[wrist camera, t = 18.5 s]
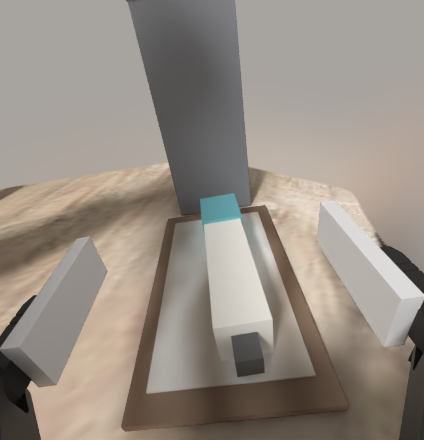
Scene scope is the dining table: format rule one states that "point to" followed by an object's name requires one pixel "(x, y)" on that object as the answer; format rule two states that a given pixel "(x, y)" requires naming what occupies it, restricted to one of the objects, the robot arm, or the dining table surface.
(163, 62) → the stand
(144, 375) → the writing pad
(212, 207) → the block
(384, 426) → the dining table surface
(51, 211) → the dining table surface
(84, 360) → the dining table surface
